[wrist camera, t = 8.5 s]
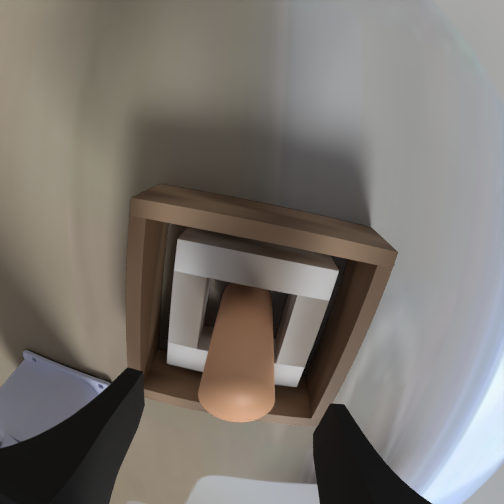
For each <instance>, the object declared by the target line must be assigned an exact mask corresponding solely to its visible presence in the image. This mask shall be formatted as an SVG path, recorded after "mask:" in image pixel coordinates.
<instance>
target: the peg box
mask: <svg viewBox="0 0 504 504" xmlns="http://www.w3.org/2000/svg"><path fill="white" fill-rule="evenodd" d="M168 223H172V224H177V225H182V226H187V228H186V229H185V231H184V232H183V233H182V234H181V235H180V237H179V238H178V240H177V248H176V257H175V266H174V276H173V286H172V297H171V309H170V321H169V336H168V351H164V350H160V349H159V331H160V312H161V297H162V284H163V272H164V261H165V250H166V241H167V232H168ZM397 254H398V252H397V251H396V250H395V249H394V248H393V247H392V246H391V245H390V244H389V243H388V242H387V241H386V240H384V239H383V238H382V237H381V236H380V235H379V234H378V233H377V232H376V231H375V230H374V229H372V228H371V227H367V226H363V225H359V224H355V223H351V222H347V221H342V220H338V219H334V218H330V217H325V216H321V215H317V214H312V213H308V212H303V211H299V210H294V209H289V208H285V207H280V206H275V205H270V204H266V203H261V202H256V201H251V200H246V199H241V198H236V197H230V196H225V195H220V194H215V193H209V192H204V191H198V190H193V189H187V188H181V187H175V186H169V185H163V184H158V185H156V186H154V187H152V188H150V189H148V190H146V191H144V192H142V193H140V194H138V195H136V196H134V197H132V198H131V203H130V215H129V228H128V244H127V267H126V341H127V363H128V367H129V368H132V369H136V370H139V371H143V374H144V397H145V398H148V399H152V400H156V401H160V402H164V403H168V404H172V405H176V406H180V407H184V408H189V409H193V410H198V411H203V412H208V411H206V410H205V409H204V408H203V406H202V405H201V403H200V401H199V398H198V391H199V386H200V382H201V378H202V374H203V370H204V366H205V362H206V358H207V354H208V350H209V346H210V342H211V338H212V334H213V330H214V327H211V326H206V325H204V322H205V315H206V309H207V302H208V295H209V289H210V283H211V279H216V280H221V281H226V282H231V283H236V284H241V285H246V286H251V287H256V288H262V289H267V290H272V291H278V292H283V293H288V296H287V300H286V303H285V307H284V310H283V314H282V317H281V321H280V324H279V328H278V331H277V334H276V338H273V344H274V379H275V403H274V406H273V408H272V409H271V411H270V412H269V413H267V414H266V415H265V416H263V417H261V418H259V419H256V420H255V421H263V422H270V423H279V424H289V425H299V426H312V427H317V426H318V424H319V423H320V421H321V419H322V417H323V415H324V414H325V412H326V410H327V408H328V406H329V404H332V403H333V401H334V399H335V398H336V396H337V394H338V392H339V390H340V388H341V386H342V384H343V382H344V380H345V378H346V376H347V374H348V372H349V370H350V368H351V366H352V364H353V362H354V360H355V358H356V355H357V353H358V351H359V349H360V347H361V345H362V342H363V340H364V338H365V336H366V333H367V331H368V329H369V327H370V324H371V322H372V320H373V317H374V315H375V312H376V310H377V307H378V305H379V302H380V300H381V297H382V295H383V292H384V290H385V287H386V285H387V282H388V279H389V277H390V274H391V271H392V268H393V266H394V263H395V260H396V257H397ZM331 256H336V257H341V258H346V259H348V262H347V265H346V268H345V271H344V274H343V277H342V280H341V283H340V286H339V289H338V292H337V295H336V298H335V301H334V304H333V306H332V309H331V312H330V315H329V318H328V320H327V323H326V326H325V328H324V331H323V334H322V336H321V339H320V342H319V344H318V347H317V349H316V352H315V355H314V357H313V360H312V362H311V365H310V367H309V369H308V372H307V374H306V377H305V376H301V375H302V372H303V370H304V367H305V365H306V362H307V360H308V357H309V355H310V352H311V349H312V347H313V344H314V341H315V339H316V336H317V333H318V331H319V328H320V325H321V322H322V320H323V317H324V314H325V311H326V308H327V305H328V303H329V300H330V297H331V294H332V291H333V288H334V285H335V282H336V279H337V276H338V272H339V270H338V268H337V266H336V264H335V263H334V261H333V259H332V257H331ZM208 413H209V412H208Z"/></svg>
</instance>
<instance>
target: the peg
mask: <svg viewBox="0 0 504 504" xmlns="http://www.w3.org/2000/svg"><path fill="white" fill-rule="evenodd" d="M198 398H199V401H200V403H201V405H202V406H203V408H204V409H205V410H206V411H208V412H209V413H210V414H212V415H213V416H215V417H217V418H220V419H223V420H226V421H232V422H248V421H253V420H256V419H259V418H261V417H263V416H265V415H266V414H267V413H269V412H270V411H271V409H272V408H273V406H274V403H275V379H274V344H273V315H272V297H271V294H270V291H269V290H267V289H262V288H256V287H251V286H246V285H241V284H236V283H230V284H229V285H228V286H227V287H226V288H225V290H224V292H223V295H222V299H221V303H220V306H219V310H218V314H217V318H216V322H215V326H214V330H213V334H212V338H211V342H210V346H209V350H208V354H207V358H206V362H205V366H204V370H203V374H202V378H201V382H200V386H199V391H198Z"/></svg>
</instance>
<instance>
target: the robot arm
mask: <svg viewBox="0 0 504 504" xmlns="http://www.w3.org/2000/svg"><path fill="white" fill-rule="evenodd" d="M23 357H24V360H23V361H22V363H21V364H20V365H19V366H18V367H17V368H16V370H15V371H14V372H13V373H12V374H11V376H10V377H9V378H8V379H7V380H6V382H5V383H4V384H3V385H2V386H1V388H0V504H109V502H110V498H111V494H112V490H113V487H114V484H115V480H116V477H117V474H118V471H119V469H120V466H121V464H122V462H123V460H124V457H125V455H126V453H127V451H128V448H129V446H130V444H131V442H132V439H133V437H134V435H135V433H136V430H137V428H138V425H139V422H140V419H141V416H142V412H143V409H144V406H145V404H144V374H143V371H139V370H136V369H132V368H129V367H128V368H127V369H125V370H124V371H123V372H122V373H121V374H120V375H119V376H118V377H117V378H116V379H115V380H114V381H113V382H112V383H109V382H107V381H104V380H101V379H98V378H96V377H93V376H90V375H87V374H84V373H82V372H79V371H76V370H74V369H71V368H68V367H66V366H63V365H61V364H58V363H56V362H53V361H51V360H49V359H46V358H44V357H42V356H39V355H37V354H35V353H33V352H30V351H28V350H24V352H23ZM313 456H314V464H315V471H316V478H317V485H318V492H319V499H320V504H432V503H430V502H429V501H427V500H426V499H424V498H423V497H422V496H420V495H419V494H418V493H416V492H415V491H414V490H413V489H412V488H410V487H409V486H408V485H407V484H406V483H405V482H404V481H402V480H401V479H400V478H399V477H398V476H397V475H396V474H395V473H394V472H393V471H392V470H391V468H390V467H389V466H388V465H387V464H386V463H385V462H384V460H383V459H382V458H381V457H380V455H379V454H378V453H377V452H376V450H375V449H374V448H373V446H372V445H371V444H370V442H369V441H368V439H367V438H366V437H365V435H364V434H363V432H362V431H361V429H360V428H359V426H358V425H357V423H356V422H355V420H354V419H353V417H352V416H351V414H350V413H349V411H348V410H347V408H346V406H345V405H344V404H329V406H328V408H327V410H326V412H325V414H324V415H323V417H322V419H321V421H320V423H319V424H318V426H317V428H316V430H315V431H314V433H313Z"/></svg>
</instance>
